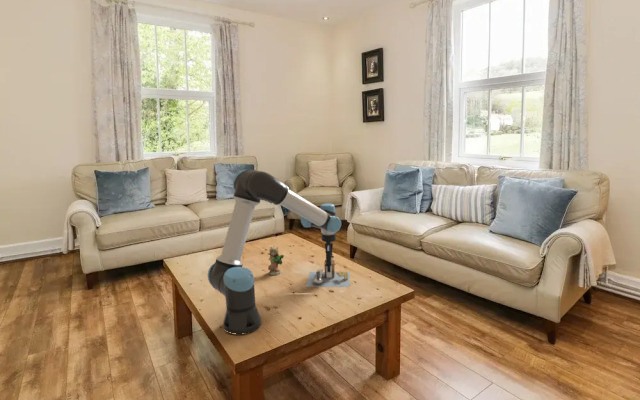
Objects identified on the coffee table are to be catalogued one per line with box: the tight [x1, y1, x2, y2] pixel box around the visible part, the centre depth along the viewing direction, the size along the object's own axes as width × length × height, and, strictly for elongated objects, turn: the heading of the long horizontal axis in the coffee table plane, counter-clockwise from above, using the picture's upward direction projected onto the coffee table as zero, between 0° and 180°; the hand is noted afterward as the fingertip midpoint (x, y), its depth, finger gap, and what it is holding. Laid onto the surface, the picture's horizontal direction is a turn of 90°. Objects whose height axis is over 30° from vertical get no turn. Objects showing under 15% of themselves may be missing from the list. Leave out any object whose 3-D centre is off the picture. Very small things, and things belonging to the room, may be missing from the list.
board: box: [305, 271, 351, 288], centre depth 193 cm, size 19×22×7 cm
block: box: [323, 259, 336, 278], centre depth 197 cm, size 5×5×8 cm
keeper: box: [336, 270, 348, 280], centre depth 192 cm, size 5×5×4 cm
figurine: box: [267, 246, 284, 276], centre depth 204 cm, size 9×8×15 cm
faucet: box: [314, 269, 324, 285], centre depth 194 cm, size 15×4×2 cm, turn 175°
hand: (329, 273), depth 197 cm, fingers open, 10 cm apart
